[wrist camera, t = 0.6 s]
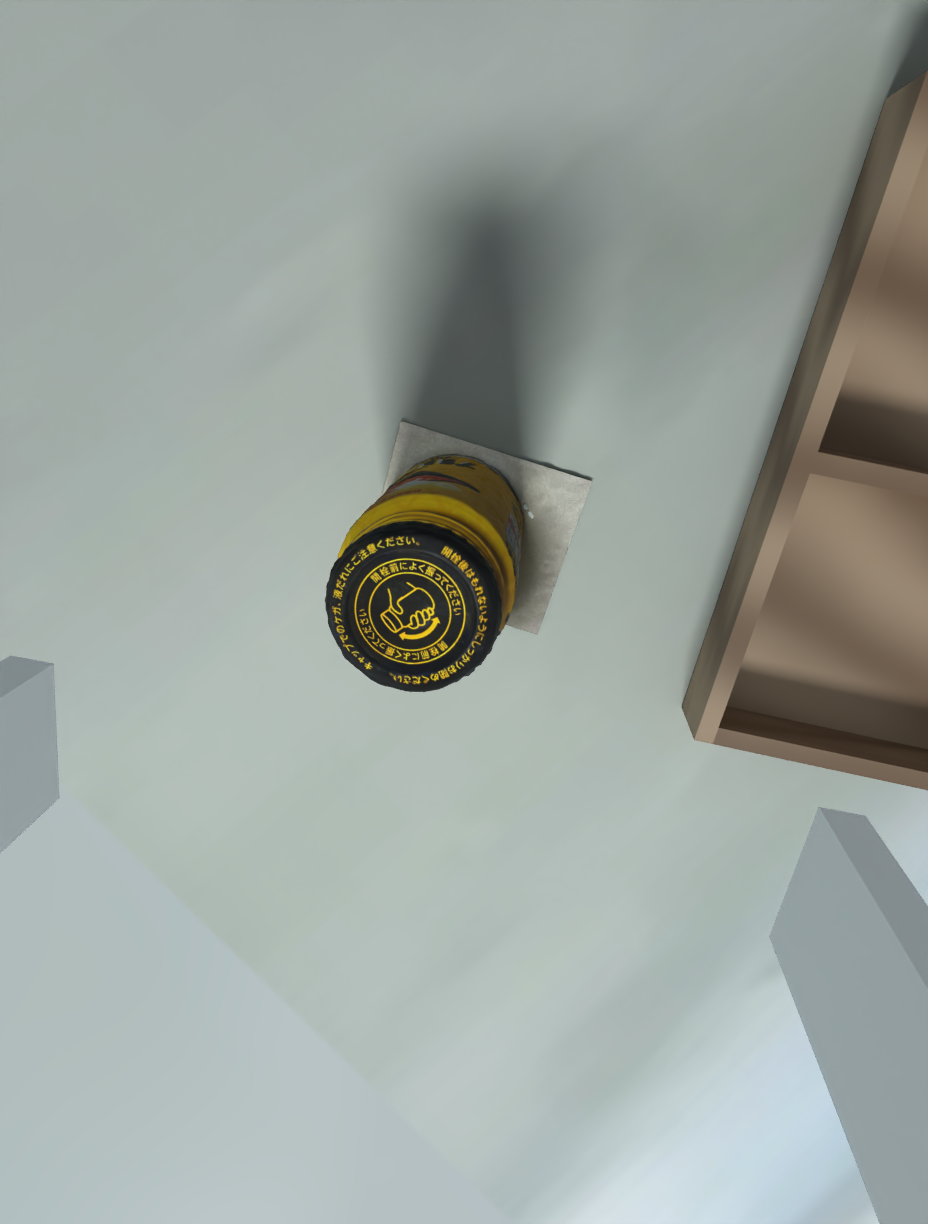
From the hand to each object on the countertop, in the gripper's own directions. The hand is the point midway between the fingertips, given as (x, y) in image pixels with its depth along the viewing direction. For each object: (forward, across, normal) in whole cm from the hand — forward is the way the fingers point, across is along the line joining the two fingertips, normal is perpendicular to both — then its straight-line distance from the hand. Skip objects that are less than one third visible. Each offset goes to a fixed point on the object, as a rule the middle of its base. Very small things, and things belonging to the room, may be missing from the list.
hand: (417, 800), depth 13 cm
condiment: (+21, -1, 0) cm, 21 cm away
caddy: (+21, +17, +5) cm, 28 cm away
